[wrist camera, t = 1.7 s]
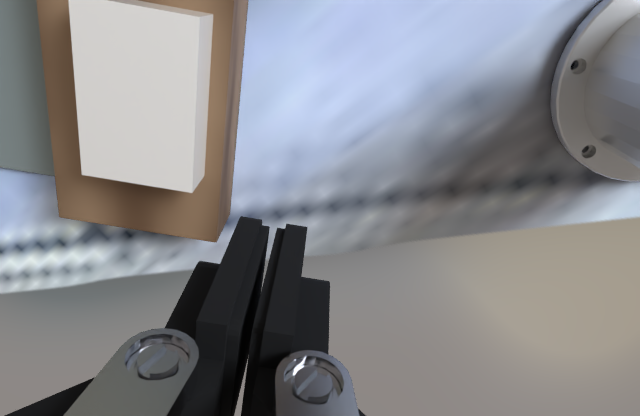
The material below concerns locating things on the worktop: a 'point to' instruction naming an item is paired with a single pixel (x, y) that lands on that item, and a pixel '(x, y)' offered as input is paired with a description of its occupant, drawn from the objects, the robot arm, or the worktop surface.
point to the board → (134, 199)
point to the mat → (23, 91)
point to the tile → (141, 91)
